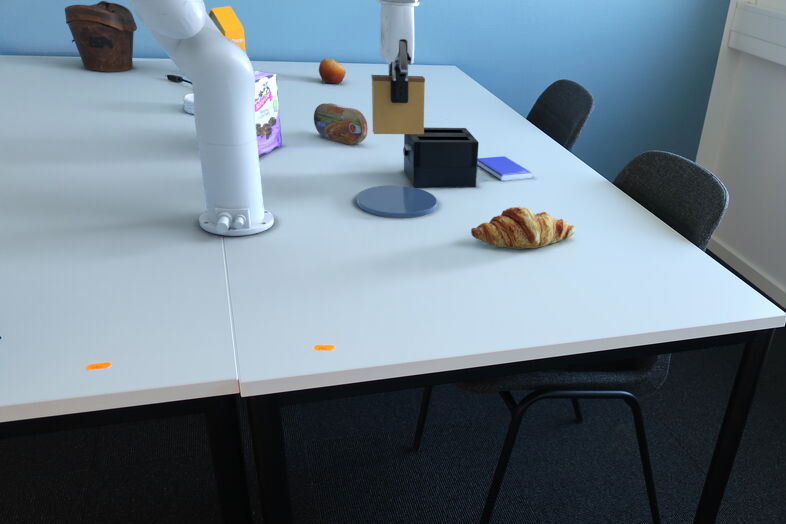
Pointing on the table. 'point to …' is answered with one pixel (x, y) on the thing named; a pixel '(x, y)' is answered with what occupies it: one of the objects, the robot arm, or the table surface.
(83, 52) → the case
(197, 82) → the robot arm
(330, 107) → the tin
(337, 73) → the fruit
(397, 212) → the plate
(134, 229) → the table surface
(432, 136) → the toaster
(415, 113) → the toast
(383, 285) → the table surface
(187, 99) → the white round container
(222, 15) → the orange juice
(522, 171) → the blue book
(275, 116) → the candy box
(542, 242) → the croissant
